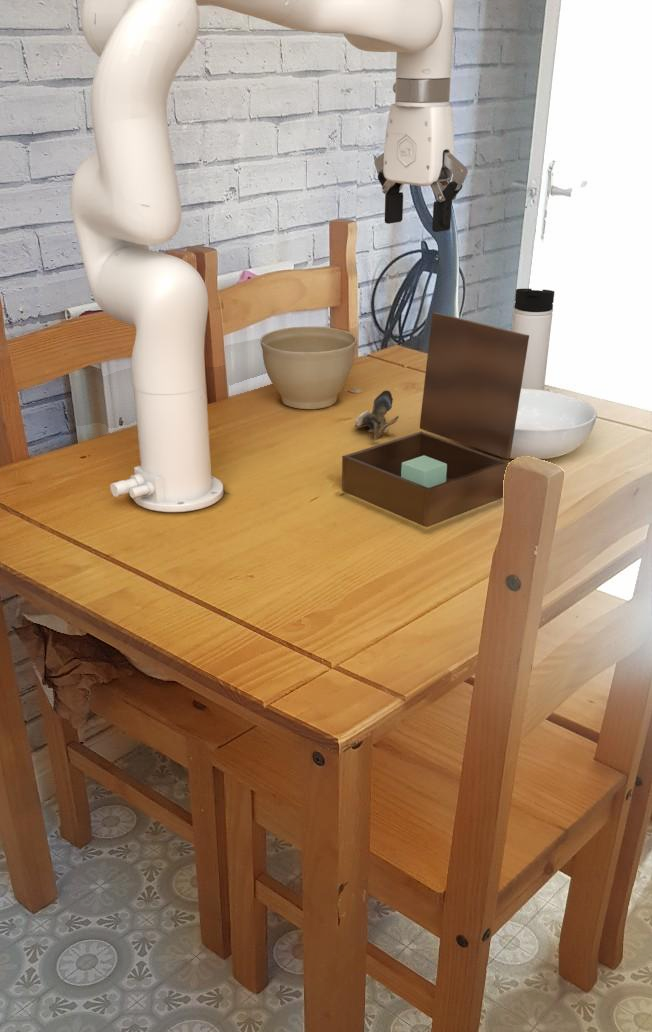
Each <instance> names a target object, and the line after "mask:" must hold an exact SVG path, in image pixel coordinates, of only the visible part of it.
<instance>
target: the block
mask: <svg viewBox="0 0 652 1032" xmlns="http://www.w3.org/2000/svg"><path fill="white" fill-rule="evenodd" d="M446 473H447V464H446V463H443V462H441V461H438V460H435V459H433V458H430V457H427V456H425V455H423V456H420V457H417V458H414V459H411V460H408V461H405V462H402V467H401V477H402V478H405V479H407V480H410V481H412V482H415V483H417V484H420V485H422V486H425V487H427V488H430V487H433V486H436V485H438V484H441V483H444V482H446Z"/></svg>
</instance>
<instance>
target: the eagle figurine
mask: <svg viewBox="0 0 652 1032" xmlns="http://www.w3.org/2000/svg"><path fill="white" fill-rule="evenodd" d="M393 401H394V399H393V395H392V393H391V391H390V390H386V389H385V390H383V391H382V392H381V393H380V394H379V395H378V396H376V398H375V399H374V400H373V406H372V411H371V412H370V410H365V411H364V412H362V413H361V414H359V415H358V416H357V417H356V420H355V425H354V427H355V428H359V427H364V426H367V427H368V428H369V429H368V432H369V433H372V434H373V442H374V441H378V440H379V439H380V437H381V435H382V433H383V434H386V435H387V436H388V437H390V436H391V435H390V432H389V428H388V427H389V426H391V425H393V424H395V423H396V422H397V421H398V420H399V417H400V416H399V415H397V416H395V417H394V418H393V419H391V420H389V421H388V422H387V418H386V414H388V412H390V411H391V409H392V408H393Z"/></svg>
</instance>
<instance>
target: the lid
mask: <svg viewBox="0 0 652 1032" xmlns="http://www.w3.org/2000/svg"><path fill="white" fill-rule="evenodd" d="M528 341H529V335H526V334H521V333H517V332H513V331H512V330H509V329H505V328H500V327H497V326H492V325H489V324H485V323H481V322H476V321H472V320H468V319H465V318H461V317H457V316H452V315H448V314H445V313H440V312H437V311H436V312H431V321H430V329H429V337H428V347H427V356H426V366H425V375H424V384H423V393H422V400H421V401H422V403H421V411H420V412H421V413H420V419H419V429H420V430H422V431H426V432H429V433H431V434H434V435H436V436H440V437H443V438H445V439H448V440H451V441H453V442H457V443H460V444H463V445H466V446H468V447H472V448H474V449H477V450H479V451H483V452H486V453H488V454H491V455H494V456H497V457H500V458H503V459H506V460H508V459H511V458H510V456H511V449H512V443H513V437H514V430H515V424H516V418H517V411H518V405H519V398H520V392H521V386H522V379H523V373H524V366H525V360H526V354H527V347H528Z"/></svg>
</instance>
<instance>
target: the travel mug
mask: <svg viewBox="0 0 652 1032" xmlns="http://www.w3.org/2000/svg"><path fill="white" fill-rule="evenodd" d="M554 300H555V291H554V290H551V289H544V288H543V289H542V290H539V289H532V288H516V289H515V295H514V305H513V313H512V323H511V331H513V332H517V333H521V334H526V335H529V341H528V347H527V354H526V360H525V366H524V373H523V379H522V386H521V389H536V390H544V391H545V382H546V375H547V374H546V373H547V365H548V364H547V363H548V356H549V348H550V339H551V330H552V321H553V311H554Z"/></svg>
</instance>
